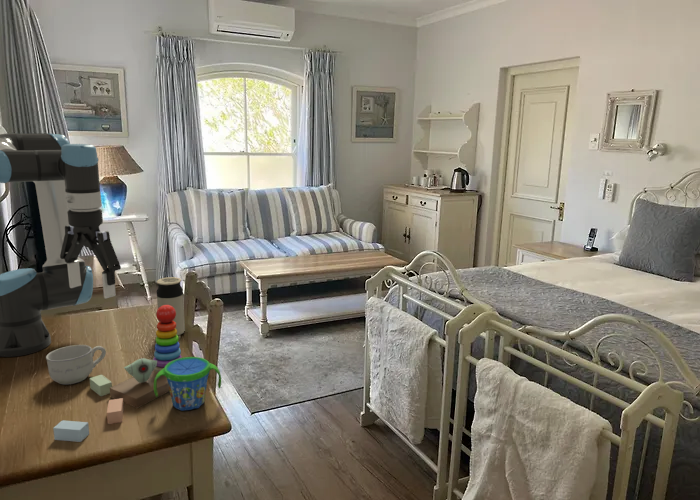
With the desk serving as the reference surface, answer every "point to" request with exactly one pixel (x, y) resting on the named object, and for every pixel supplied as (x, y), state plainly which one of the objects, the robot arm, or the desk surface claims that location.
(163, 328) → the stacking toy
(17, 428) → the desk surface
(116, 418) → the brick terracotta
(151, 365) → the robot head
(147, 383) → the plinth
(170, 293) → the travel mug
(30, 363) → the desk surface
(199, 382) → the snack cup
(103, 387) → the brick sage
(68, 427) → the brick blue
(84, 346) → the teacup
